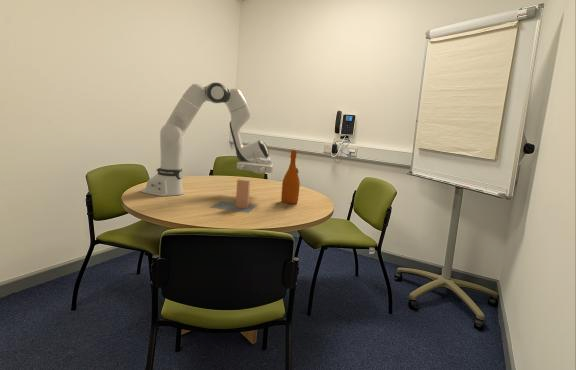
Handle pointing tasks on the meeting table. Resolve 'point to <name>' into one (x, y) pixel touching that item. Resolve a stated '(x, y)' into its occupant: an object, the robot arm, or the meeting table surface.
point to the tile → (242, 193)
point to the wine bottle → (291, 182)
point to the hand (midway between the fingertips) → (251, 169)
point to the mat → (232, 207)
